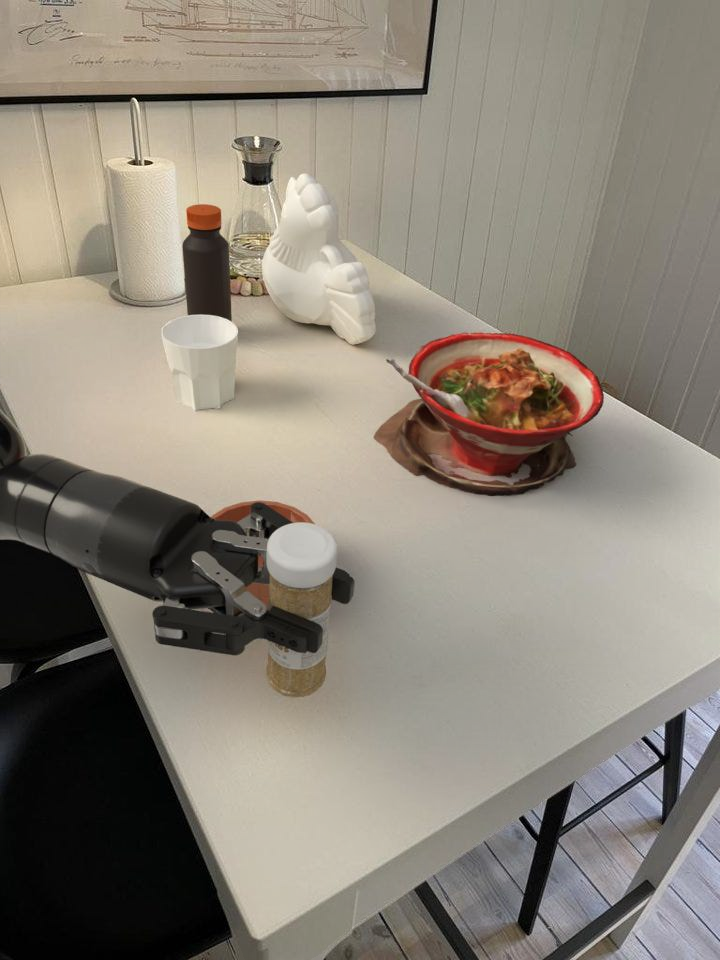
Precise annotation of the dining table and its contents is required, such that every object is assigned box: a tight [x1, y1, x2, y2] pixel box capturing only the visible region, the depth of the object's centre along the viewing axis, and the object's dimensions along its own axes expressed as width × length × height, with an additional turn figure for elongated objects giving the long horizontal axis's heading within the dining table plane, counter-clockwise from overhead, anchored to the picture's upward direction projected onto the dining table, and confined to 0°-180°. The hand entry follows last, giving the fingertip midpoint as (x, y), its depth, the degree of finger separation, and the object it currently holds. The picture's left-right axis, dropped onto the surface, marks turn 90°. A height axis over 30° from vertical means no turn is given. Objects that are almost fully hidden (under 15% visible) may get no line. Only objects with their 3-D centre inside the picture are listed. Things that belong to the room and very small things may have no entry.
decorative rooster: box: [261, 172, 377, 346], centre depth 118 cm, size 25×16×25 cm
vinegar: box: [181, 203, 233, 322], centre depth 114 cm, size 7×7×20 cm
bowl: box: [210, 499, 317, 610], centre depth 77 cm, size 12×12×5 cm
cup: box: [160, 315, 239, 412], centre depth 103 cm, size 10×10×10 cm
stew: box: [373, 332, 605, 497], centre depth 94 cm, size 28×24×16 cm
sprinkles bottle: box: [265, 522, 338, 698], centre depth 52 cm, size 5×5×13 cm
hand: (335, 614), depth 51 cm, fingers closed on sprinkles bottle, 4 cm apart
